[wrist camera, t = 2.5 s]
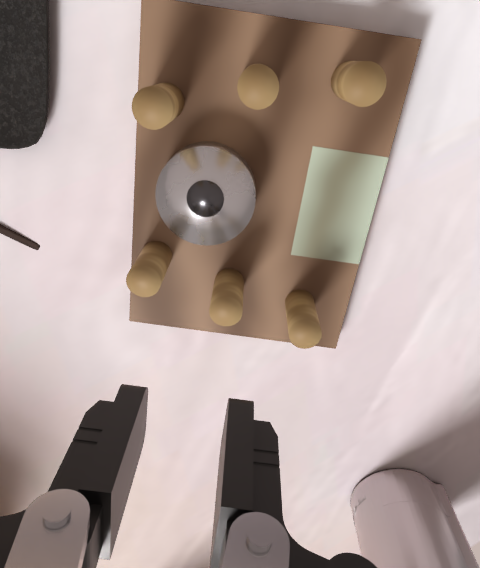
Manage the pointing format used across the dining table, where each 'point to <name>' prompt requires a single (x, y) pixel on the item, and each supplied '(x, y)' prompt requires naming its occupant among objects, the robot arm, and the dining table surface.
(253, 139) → the board
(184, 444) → the dining table surface
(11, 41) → the sushi plate
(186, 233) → the pot lid
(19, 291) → the dining table surface
